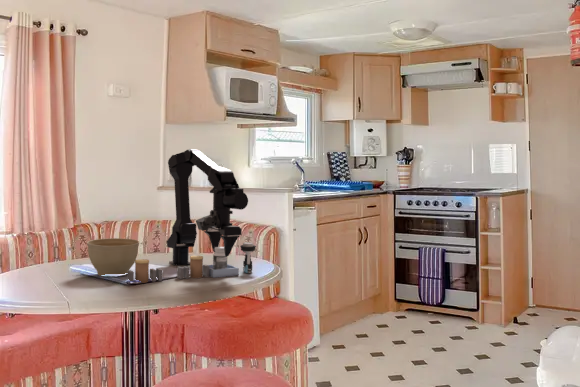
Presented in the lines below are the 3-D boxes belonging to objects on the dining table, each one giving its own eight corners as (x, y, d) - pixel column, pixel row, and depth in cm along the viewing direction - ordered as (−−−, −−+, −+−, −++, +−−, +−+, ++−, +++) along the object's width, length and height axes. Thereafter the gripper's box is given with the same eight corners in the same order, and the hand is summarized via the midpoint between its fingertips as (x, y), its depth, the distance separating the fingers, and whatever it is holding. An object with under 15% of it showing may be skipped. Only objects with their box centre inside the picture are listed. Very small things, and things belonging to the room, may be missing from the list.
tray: (201, 272, 194) (201, 265, 194) (226, 270, 199) (226, 263, 199) (213, 277, 186) (213, 270, 186) (238, 275, 191) (238, 267, 191)
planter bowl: (75, 276, 182) (75, 242, 181) (109, 268, 197) (110, 237, 196) (116, 281, 176) (117, 246, 175) (148, 273, 191) (149, 240, 190)
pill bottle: (213, 270, 195) (213, 246, 194) (227, 270, 195) (227, 246, 195) (212, 273, 190) (213, 248, 189) (226, 273, 190) (227, 248, 190)
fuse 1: (133, 280, 178) (133, 259, 177) (146, 279, 180) (146, 258, 180) (137, 283, 174) (137, 261, 174) (150, 282, 177) (150, 260, 176)
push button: (257, 274, 194) (258, 244, 194) (241, 274, 193) (242, 244, 192) (253, 270, 201) (254, 241, 200) (238, 270, 199) (239, 242, 199)
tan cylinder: (187, 276, 187) (188, 256, 187) (199, 275, 190) (200, 255, 189) (192, 278, 184) (193, 258, 184) (204, 277, 186) (205, 257, 186)
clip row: (127, 281, 176) (127, 270, 176) (205, 275, 190) (205, 264, 190) (130, 283, 174) (130, 272, 174) (209, 276, 188) (209, 266, 187)
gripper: (188, 205, 195) (187, 251, 196) (211, 210, 179) (210, 259, 180) (218, 205, 201) (217, 249, 201) (242, 209, 185) (241, 257, 186)
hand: (220, 253), depth 192 cm, fingers open, 9 cm apart
